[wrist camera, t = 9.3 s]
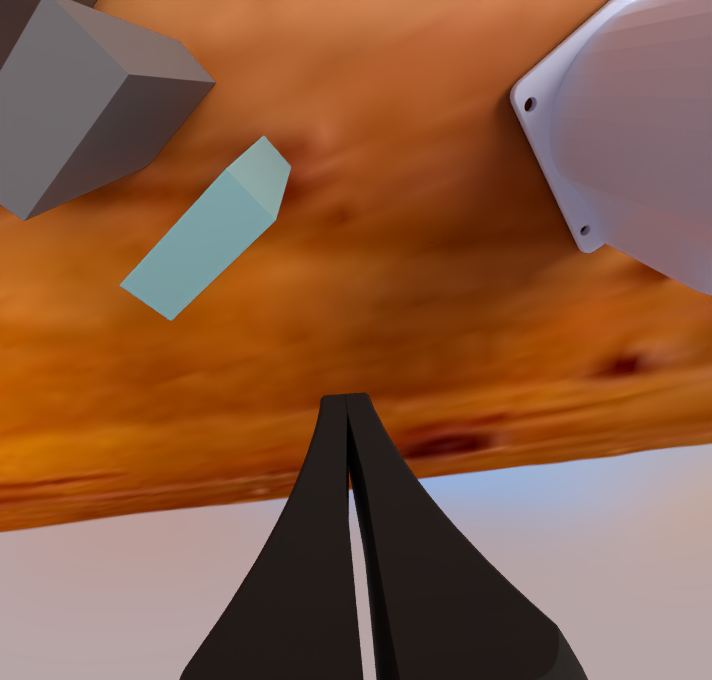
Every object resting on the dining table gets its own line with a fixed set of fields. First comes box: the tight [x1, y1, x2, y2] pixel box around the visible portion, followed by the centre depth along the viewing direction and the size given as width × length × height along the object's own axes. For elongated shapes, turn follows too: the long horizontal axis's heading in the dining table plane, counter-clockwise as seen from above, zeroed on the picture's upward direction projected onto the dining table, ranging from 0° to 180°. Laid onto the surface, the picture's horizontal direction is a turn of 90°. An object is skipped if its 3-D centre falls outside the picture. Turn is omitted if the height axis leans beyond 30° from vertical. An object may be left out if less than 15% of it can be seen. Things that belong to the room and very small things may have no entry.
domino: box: [0, 0, 216, 221], centre depth 11 cm, size 2×4×8 cm, turn 130°
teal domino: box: [120, 135, 291, 321], centre depth 13 cm, size 2×4×8 cm, turn 130°
